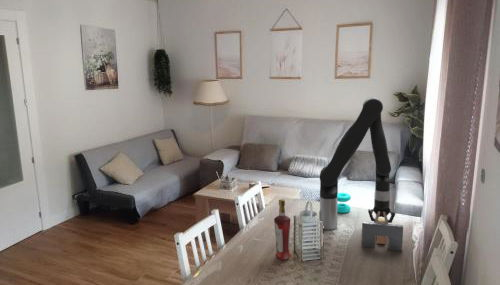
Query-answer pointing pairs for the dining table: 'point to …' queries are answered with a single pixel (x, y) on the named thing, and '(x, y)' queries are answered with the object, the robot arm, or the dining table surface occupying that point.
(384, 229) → the plate
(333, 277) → the dining table surface
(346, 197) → the donuts
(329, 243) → the dining table surface
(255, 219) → the dining table surface
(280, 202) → the liquor
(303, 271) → the dining table surface
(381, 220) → the plug
